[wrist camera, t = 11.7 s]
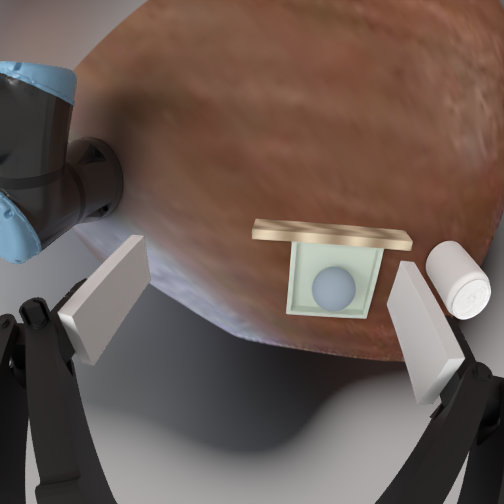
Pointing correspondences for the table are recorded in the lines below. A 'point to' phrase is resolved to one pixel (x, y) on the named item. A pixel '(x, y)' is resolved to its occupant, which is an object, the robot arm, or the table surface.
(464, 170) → the table surface
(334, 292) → the ball
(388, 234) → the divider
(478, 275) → the beverage can
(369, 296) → the tray
